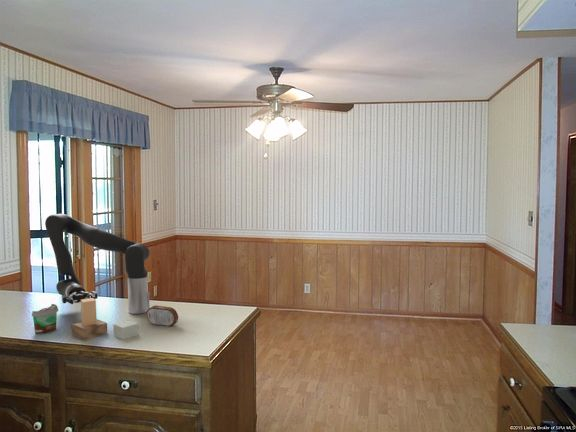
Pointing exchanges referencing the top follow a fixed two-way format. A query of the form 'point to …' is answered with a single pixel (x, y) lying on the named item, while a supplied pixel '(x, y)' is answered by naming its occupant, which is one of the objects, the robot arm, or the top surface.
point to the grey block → (125, 329)
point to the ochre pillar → (88, 311)
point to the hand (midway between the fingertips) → (83, 300)
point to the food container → (45, 319)
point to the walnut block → (89, 330)
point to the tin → (162, 315)
